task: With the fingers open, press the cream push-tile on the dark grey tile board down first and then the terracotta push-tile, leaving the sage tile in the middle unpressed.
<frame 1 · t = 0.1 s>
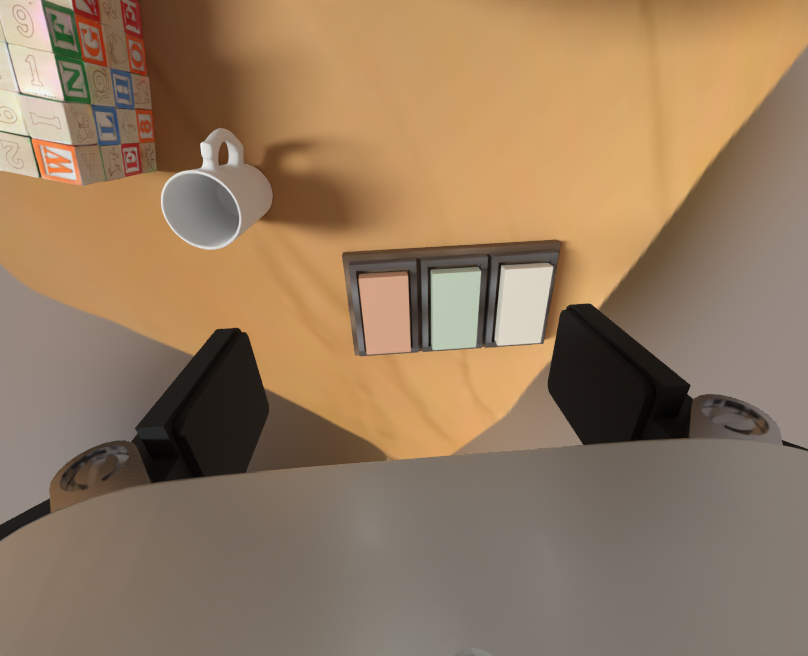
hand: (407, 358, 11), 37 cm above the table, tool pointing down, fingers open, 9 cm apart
dark grey tile board: (449, 298, 50), on the table
mug: (247, 177, 42), on the table
cream tile: (521, 305, 47), point 4 cm above the table, slide at 0.0 cm
terracotta tile: (386, 314, 47), point 4 cm above the table, slide at 0.0 cm
sage tile: (454, 310, 47), point 4 cm above the table, slide at 0.0 cm
stack of blocks: (114, 51, 36), on the table
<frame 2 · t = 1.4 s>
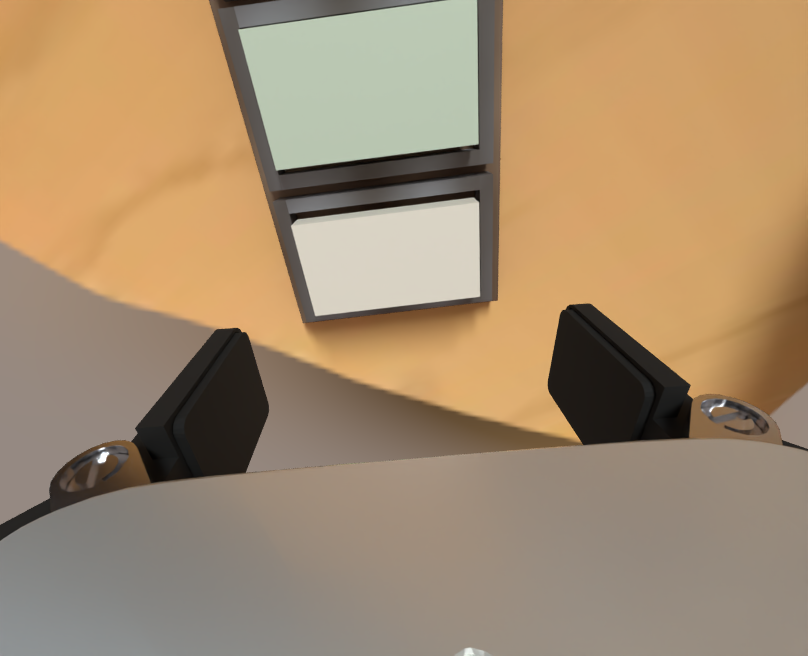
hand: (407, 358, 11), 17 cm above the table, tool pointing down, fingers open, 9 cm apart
dark grey tile board: (371, 97, 22), on the table
cream tile: (391, 259, 23), point 4 cm above the table, slide at 0.0 cm
sage tile: (368, 92, 18), point 4 cm above the table, slide at 0.0 cm
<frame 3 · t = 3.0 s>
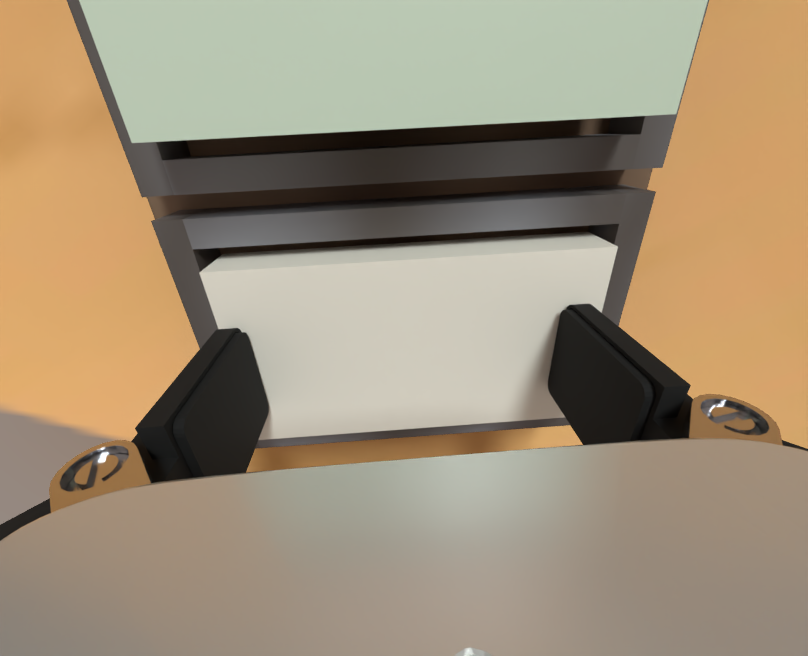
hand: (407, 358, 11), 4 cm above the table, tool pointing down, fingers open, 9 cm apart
dark grey tile board: (393, 3, 10), on the table
cream tile: (413, 341, 12), point 3 cm above the table, slide at -0.8 cm, touching gripper
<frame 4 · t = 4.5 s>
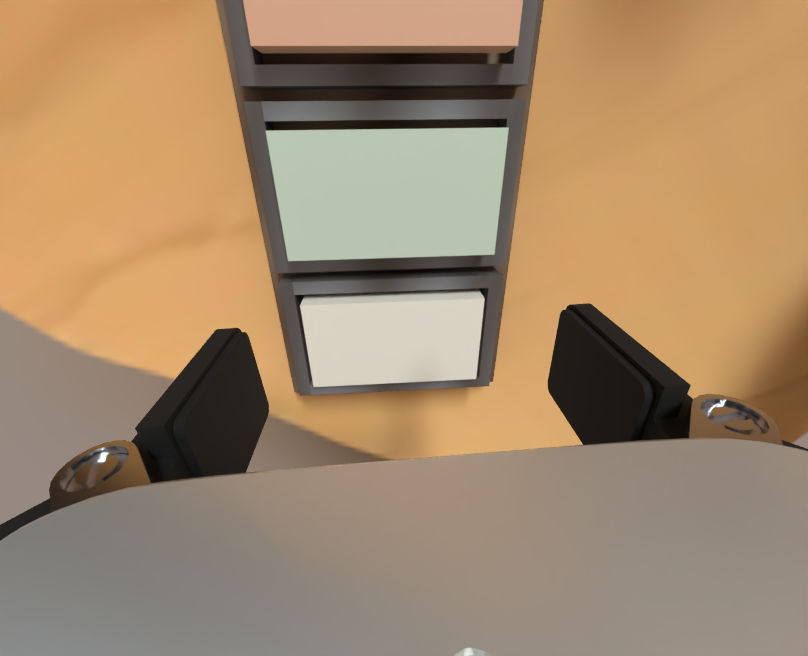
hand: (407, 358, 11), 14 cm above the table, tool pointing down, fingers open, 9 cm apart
dark grey tile board: (388, 186, 22), on the table
cream tile: (394, 338, 23), point 3 cm above the table, slide at -0.9 cm
sage tile: (390, 196, 18), point 4 cm above the table, slide at 0.0 cm
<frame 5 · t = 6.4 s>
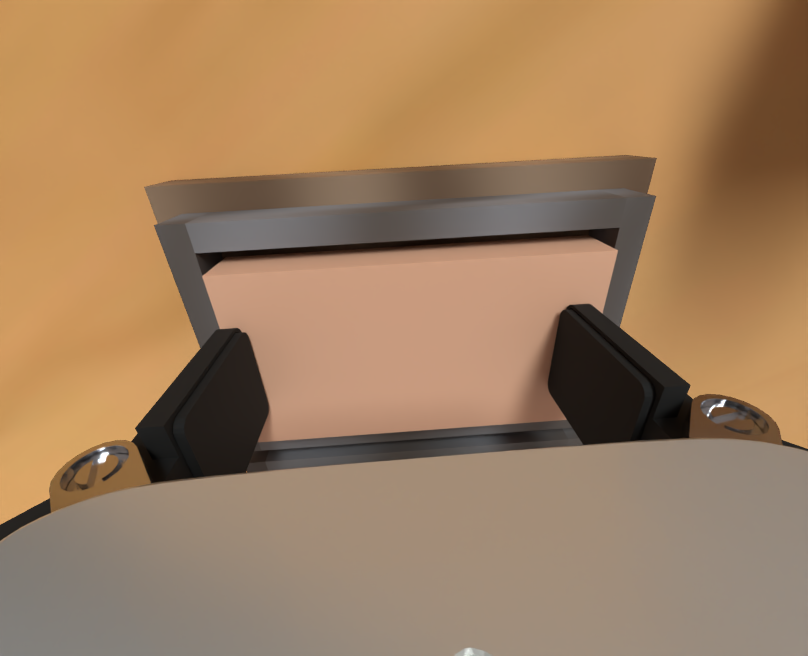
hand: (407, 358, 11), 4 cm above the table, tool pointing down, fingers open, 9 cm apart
dark grey tile board: (415, 462, 19), on the table
terracotta tile: (414, 344, 12), point 3 cm above the table, slide at -0.8 cm, touching gripper
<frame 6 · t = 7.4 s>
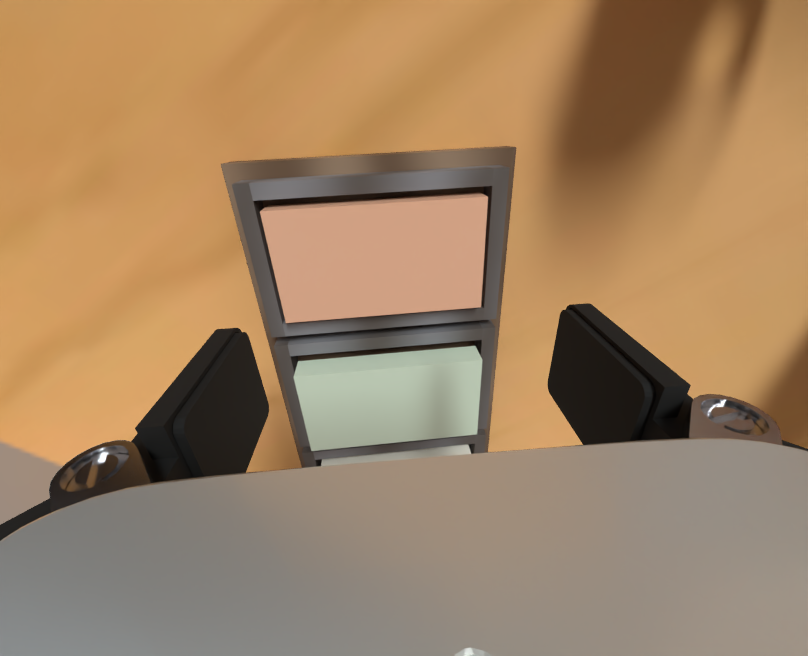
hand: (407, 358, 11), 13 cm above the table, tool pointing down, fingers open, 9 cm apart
dark grey tile board: (388, 365, 26), on the table
cream tile: (398, 481, 28), point 3 cm above the table, slide at -0.9 cm
terracotta tile: (380, 259, 19), point 3 cm above the table, slide at -0.9 cm
sage tile: (391, 399, 23), point 4 cm above the table, slide at 0.0 cm
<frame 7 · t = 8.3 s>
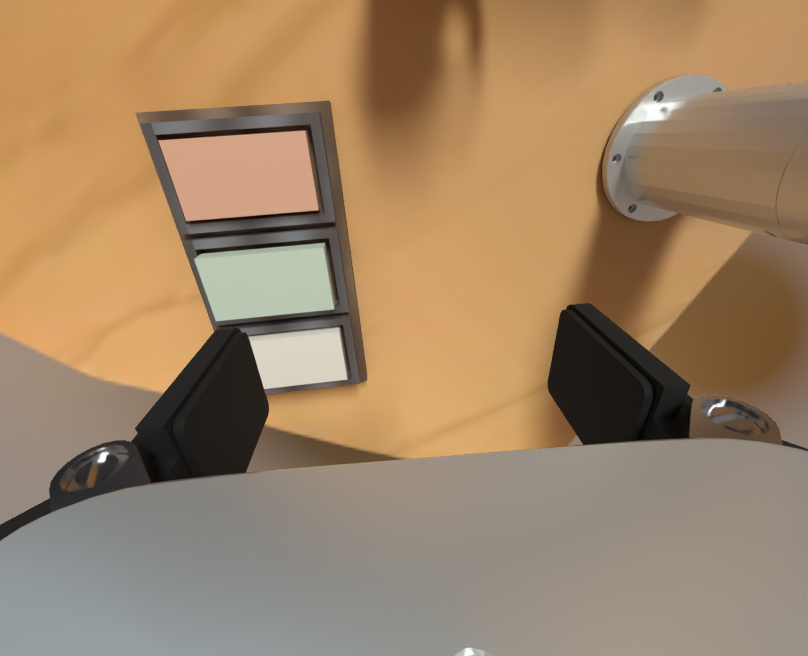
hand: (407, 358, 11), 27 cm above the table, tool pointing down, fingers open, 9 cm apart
dark grey tile board: (278, 269, 36), on the table
cream tile: (292, 358, 38), point 3 cm above the table, slide at -0.9 cm
terracotta tile: (246, 176, 30), point 3 cm above the table, slide at -0.9 cm
sage tile: (269, 282, 33), point 4 cm above the table, slide at 0.0 cm
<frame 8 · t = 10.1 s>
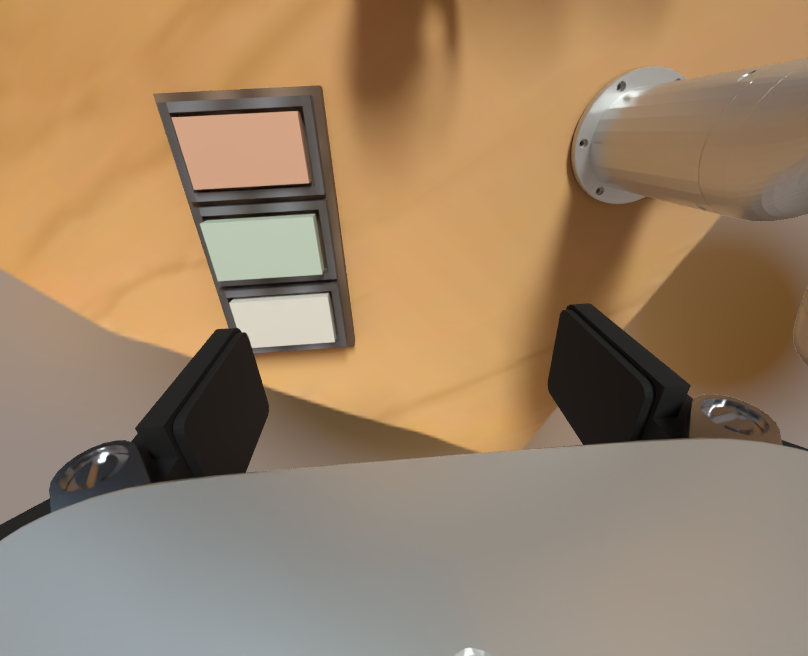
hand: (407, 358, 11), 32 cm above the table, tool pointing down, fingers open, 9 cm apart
dark grey tile board: (275, 238, 41), on the table
cream tile: (285, 320, 42), point 3 cm above the table, slide at -0.9 cm
terracotta tile: (246, 151, 34), point 3 cm above the table, slide at -0.9 cm
sage tile: (265, 248, 37), point 4 cm above the table, slide at 0.0 cm
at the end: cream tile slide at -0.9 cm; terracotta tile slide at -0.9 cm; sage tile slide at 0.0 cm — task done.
